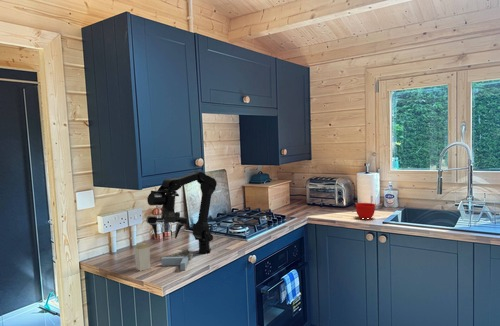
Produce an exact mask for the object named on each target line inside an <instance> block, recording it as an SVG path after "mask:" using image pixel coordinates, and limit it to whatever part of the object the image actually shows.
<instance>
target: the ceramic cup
mask: <svg viewBox="0 0 500 326" xmlns="http://www.w3.org/2000/svg"><path fill="white" fill-rule="evenodd" d="M355 210H356V214H357V216H358V217H359V219H361V218H364V219H367V218H370V219H372V218H373V216H374V215H375V210H376V204H374V203H372V202H371V203H370V202H359V203H358V202H357V203H356V204H355ZM371 217H372V218H371ZM364 219H363V220H364Z"/></svg>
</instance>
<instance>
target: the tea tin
mask: <svg viewBox="0 0 500 326" xmlns="http://www.w3.org/2000/svg"><path fill="white" fill-rule="evenodd" d="M133 246H134V257H135V258H134V260H135V270H137V271H139V270H140V271H139V272H142V270H143V271H146V270H150V269H151V252H150V251H151V250H150V246H151V245H150V244H148V243H145V242H143V243H139V244H134V245H133Z"/></svg>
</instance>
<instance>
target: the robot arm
mask: <svg viewBox="0 0 500 326" xmlns="http://www.w3.org/2000/svg"><path fill="white" fill-rule="evenodd" d="M195 181H196V182H197V183H198V184H199V185H200V187H199V188H200V191H201V200H200V205H199V211H198V212H199V213H198V218H197V221H196V222H195V223H193V224H192V230H191V232H192V235H193V237H194V239H195V241H198V251H197V254H211V251H212V248H211V246H210V242H212V241H213V240H214V235H213V234H211V233H210V226H209V222H208V219H209V213H210V208H211V207H210V206H211V200H212V195H213V194H214V192H215V190H216V187H217V185H218V183H217V180H216V179H215V178H213V177H211V176H210V175H208V174H206V173H204V172H203V171H199V170H198V171H194V172H191V173H188V174H184V175H183V176H180V177H175V178H172V177H171V178H165V179H164V180H163V181H162V184H161V185H160V186H159V188H157V190H151V191H150V193H149V194H148V197H147V199H146V201H147V204H148V205H149V206H155V207H156V206H162V207H161V217H157V216H154V215H147V217H146V223H147V224H148V225H150V226H151V227H152V230H153V233H154V237H155V239H158V238H157V237H158V231H157V230H158V228H157V227H158V223H167V224H168V223H172V224H175V223H176V224H175V231H174V239H177V237H178V234H179V232H180V230H181V229H182V228H183V227H184V226H185V225H188V224H189V223H188V221H189V219H188V218H187V217H186V216H181V213H180V211H179V212H178V211H177V212H175V209H176V208H175V205H176V197H180V195H179V193H178V192H177V191H178V190H180V189H181V188H182V187H183V186H185V185H188V184H190V183H193V182H195Z"/></svg>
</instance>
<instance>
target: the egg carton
mask: <svg viewBox="0 0 500 326" xmlns="http://www.w3.org/2000/svg"><path fill="white" fill-rule="evenodd" d="M183 256H188V261H192V260H193V256H194V254H193V253H191V251H190V250H189V248H188V249H184V250H182V251H181V252H178V253H174V254H172V255H171V254H170V255H169V256H168V257H183Z"/></svg>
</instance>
